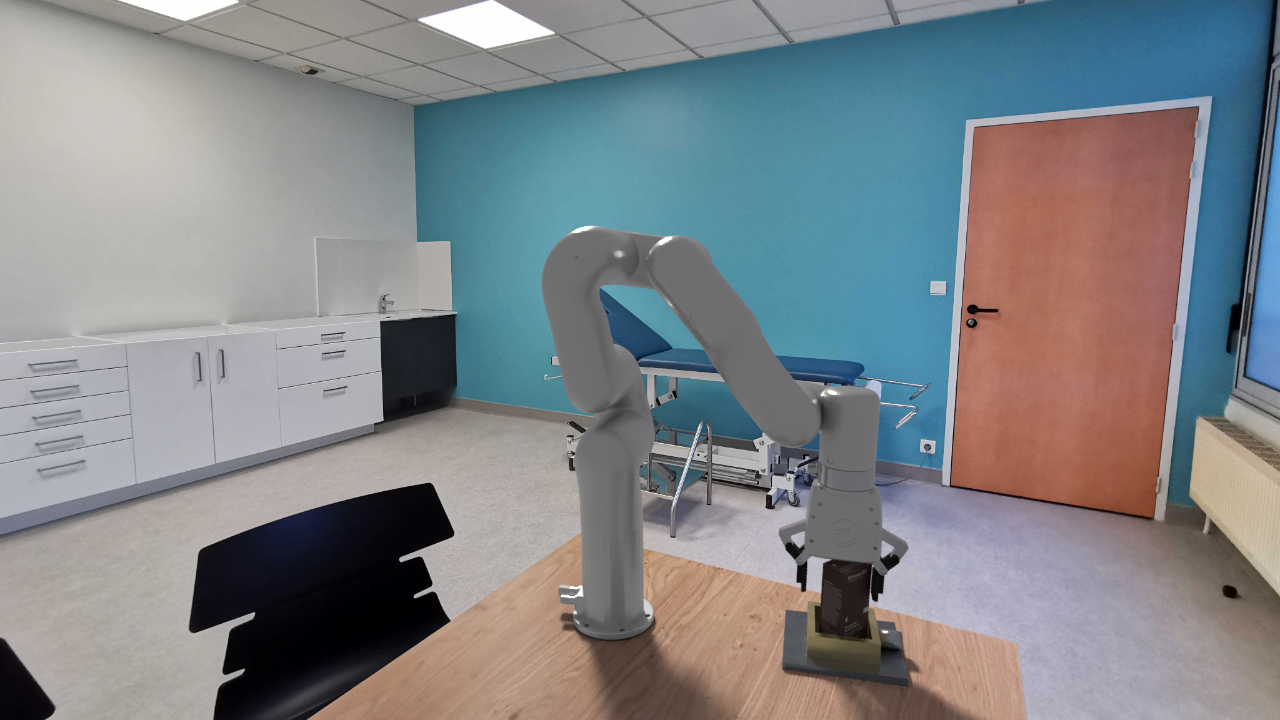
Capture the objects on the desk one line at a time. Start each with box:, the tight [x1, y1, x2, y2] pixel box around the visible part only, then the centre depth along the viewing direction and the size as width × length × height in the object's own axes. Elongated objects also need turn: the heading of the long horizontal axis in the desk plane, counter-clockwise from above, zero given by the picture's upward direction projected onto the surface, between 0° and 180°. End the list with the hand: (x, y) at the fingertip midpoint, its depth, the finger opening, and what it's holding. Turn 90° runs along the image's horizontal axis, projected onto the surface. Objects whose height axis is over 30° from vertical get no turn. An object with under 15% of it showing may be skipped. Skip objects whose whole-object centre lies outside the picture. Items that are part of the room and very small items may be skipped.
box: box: [819, 559, 873, 639], centre depth 92 cm, size 6×4×12 cm
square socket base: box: [781, 600, 909, 687], centre depth 93 cm, size 16×14×4 cm
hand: (838, 592), depth 92 cm, fingers open, 9 cm apart
